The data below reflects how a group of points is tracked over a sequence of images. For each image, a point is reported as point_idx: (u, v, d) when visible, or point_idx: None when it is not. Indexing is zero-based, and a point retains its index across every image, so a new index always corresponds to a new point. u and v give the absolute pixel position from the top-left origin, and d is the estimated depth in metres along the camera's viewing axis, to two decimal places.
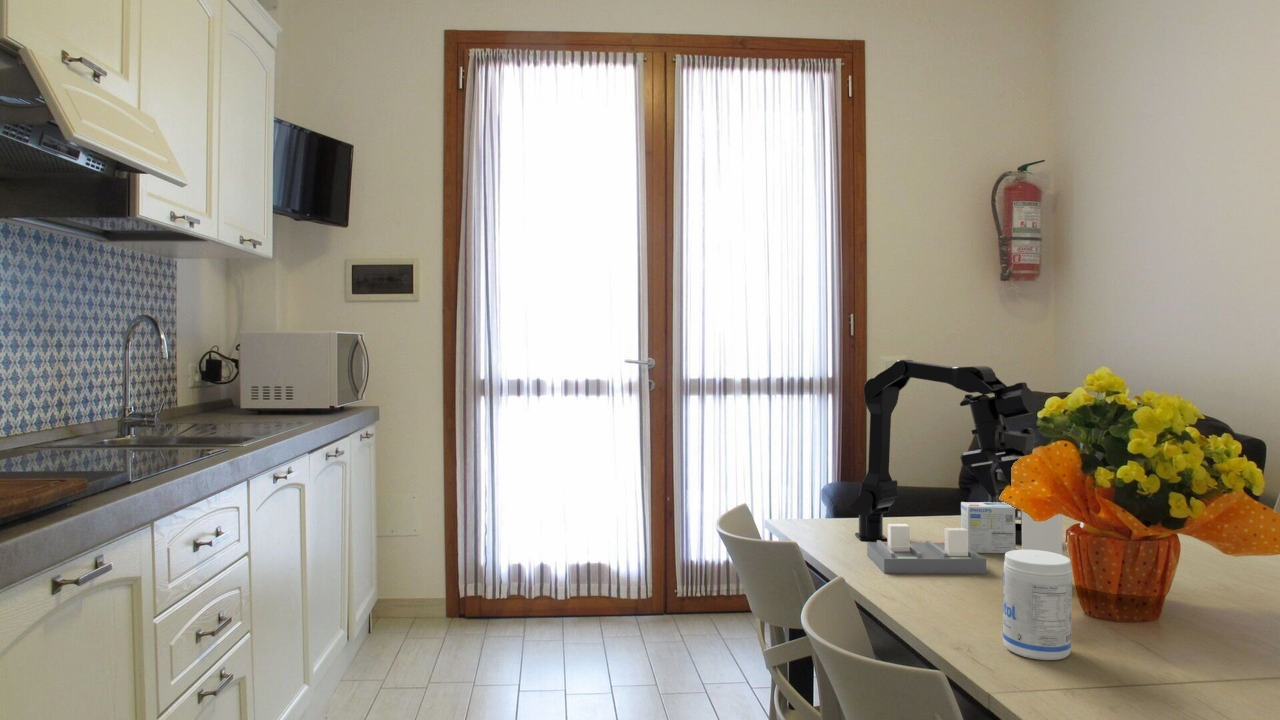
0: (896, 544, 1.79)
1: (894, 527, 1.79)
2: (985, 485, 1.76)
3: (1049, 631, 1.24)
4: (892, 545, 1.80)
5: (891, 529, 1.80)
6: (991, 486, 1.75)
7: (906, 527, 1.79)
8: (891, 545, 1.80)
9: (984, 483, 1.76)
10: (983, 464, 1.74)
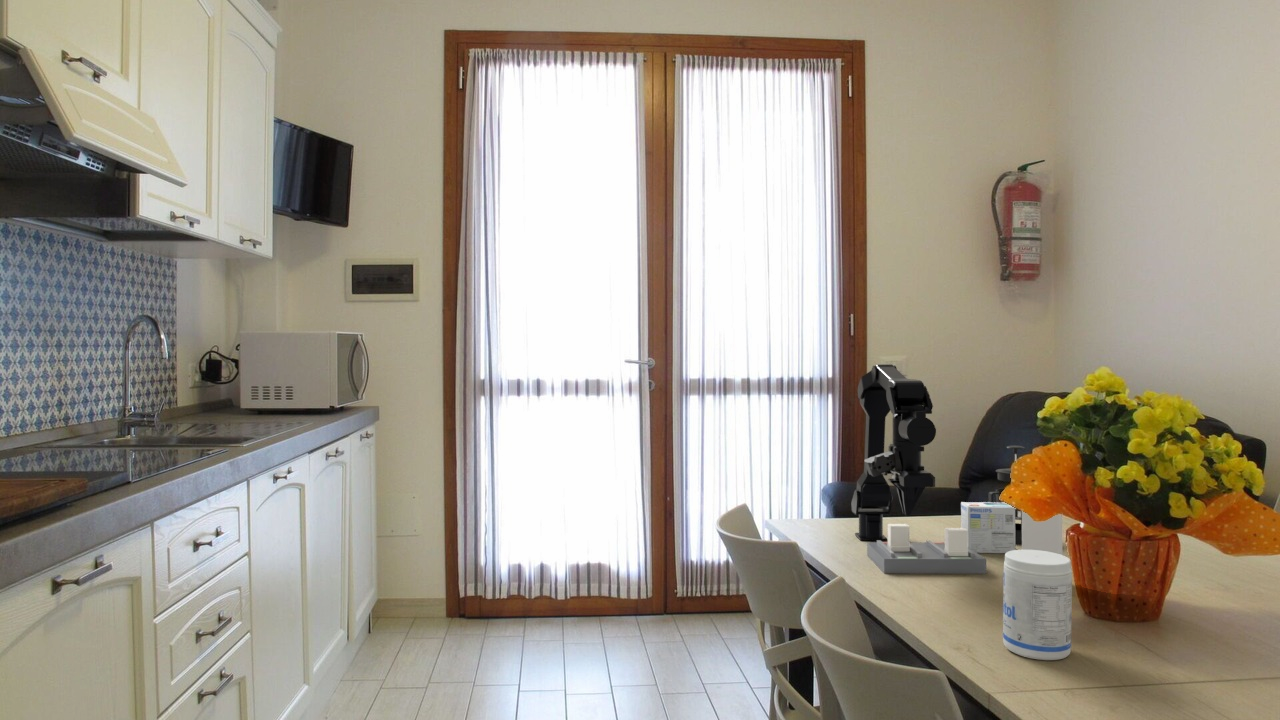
0: (896, 544, 1.79)
1: (894, 527, 1.79)
2: None
3: (1049, 631, 1.24)
4: (892, 545, 1.80)
5: (891, 529, 1.80)
6: None
7: (906, 527, 1.79)
8: (891, 545, 1.80)
9: None
10: None
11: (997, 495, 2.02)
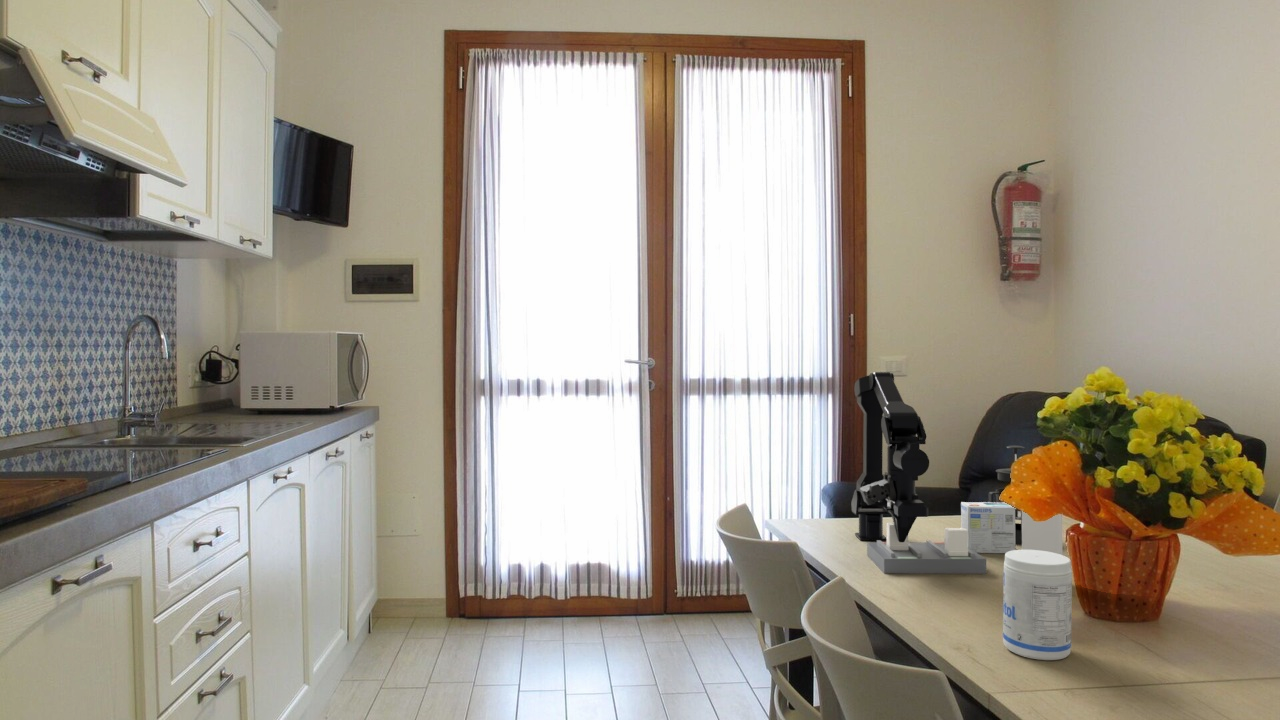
0: (895, 543, 1.81)
1: (893, 526, 1.81)
2: None
3: (1049, 631, 1.24)
4: (891, 544, 1.81)
5: (890, 528, 1.81)
6: None
7: None
8: (890, 544, 1.81)
9: None
10: None
11: (997, 495, 2.02)
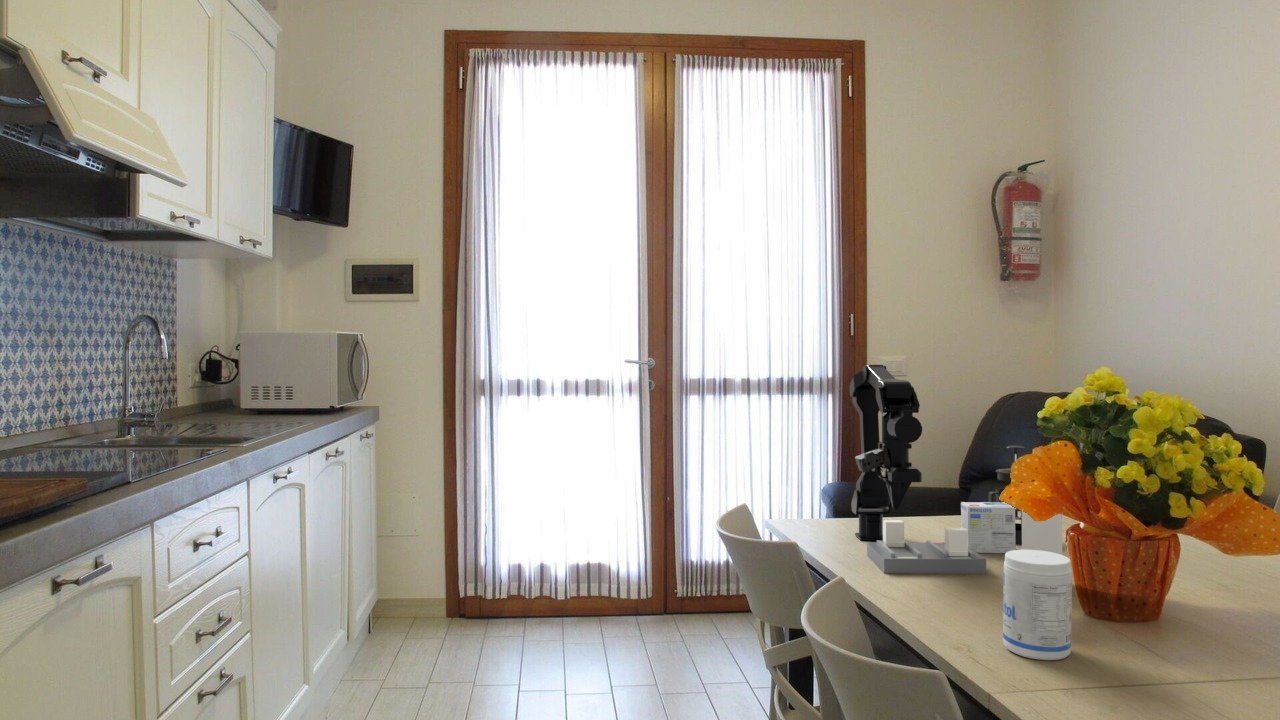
0: (891, 540, 1.84)
1: (889, 523, 1.84)
2: None
3: (1049, 631, 1.24)
4: (887, 541, 1.84)
5: (886, 525, 1.84)
6: None
7: (901, 523, 1.83)
8: (886, 541, 1.84)
9: None
10: None
11: (997, 495, 2.02)
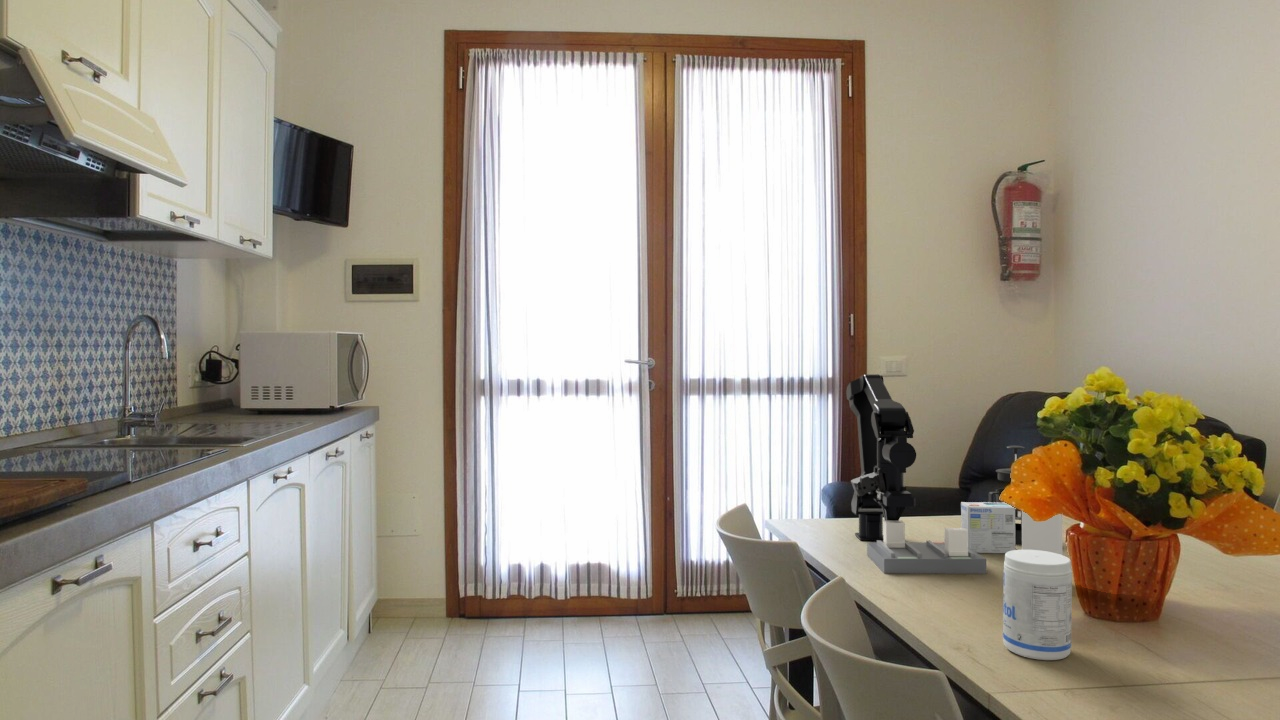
0: (892, 540, 1.83)
1: (890, 524, 1.83)
2: None
3: (1049, 631, 1.24)
4: (888, 541, 1.83)
5: (887, 525, 1.83)
6: None
7: (901, 524, 1.83)
8: (887, 541, 1.83)
9: None
10: None
11: (997, 495, 2.02)
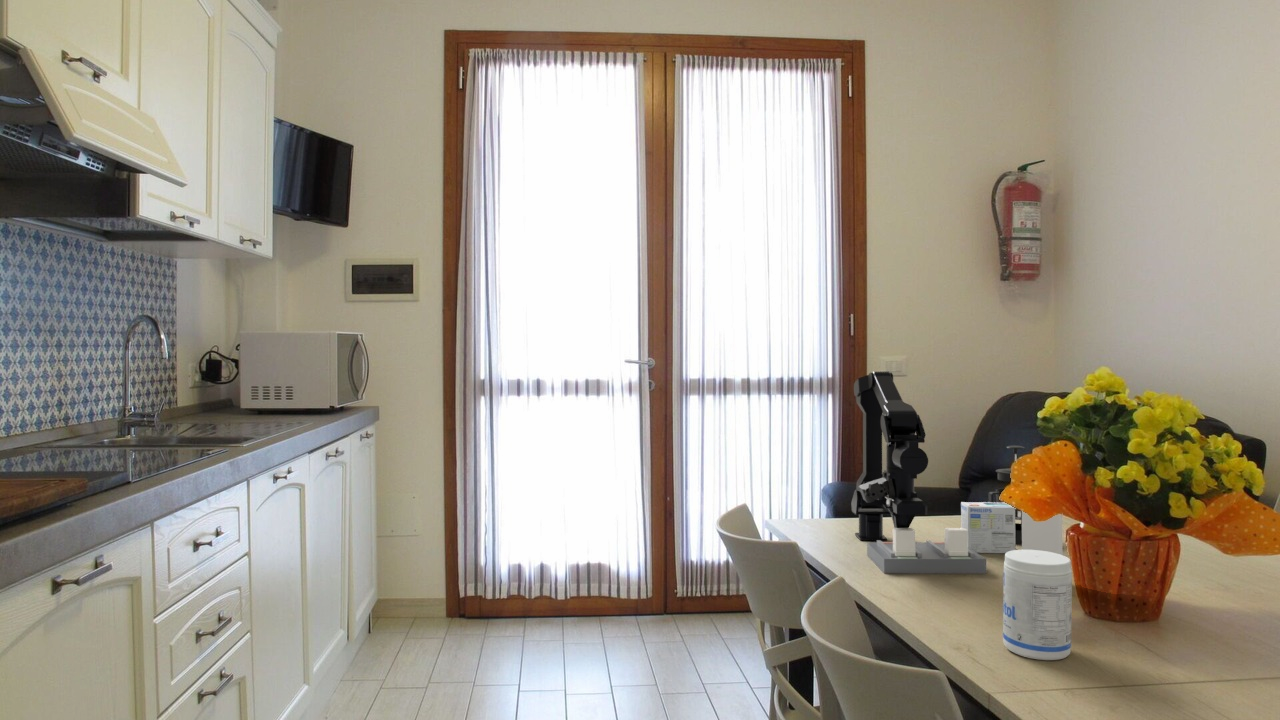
0: (901, 549, 1.75)
1: (899, 531, 1.75)
2: None
3: (1049, 631, 1.24)
4: (897, 550, 1.75)
5: (896, 533, 1.75)
6: None
7: (912, 531, 1.75)
8: (896, 550, 1.75)
9: None
10: None
11: (997, 495, 2.02)
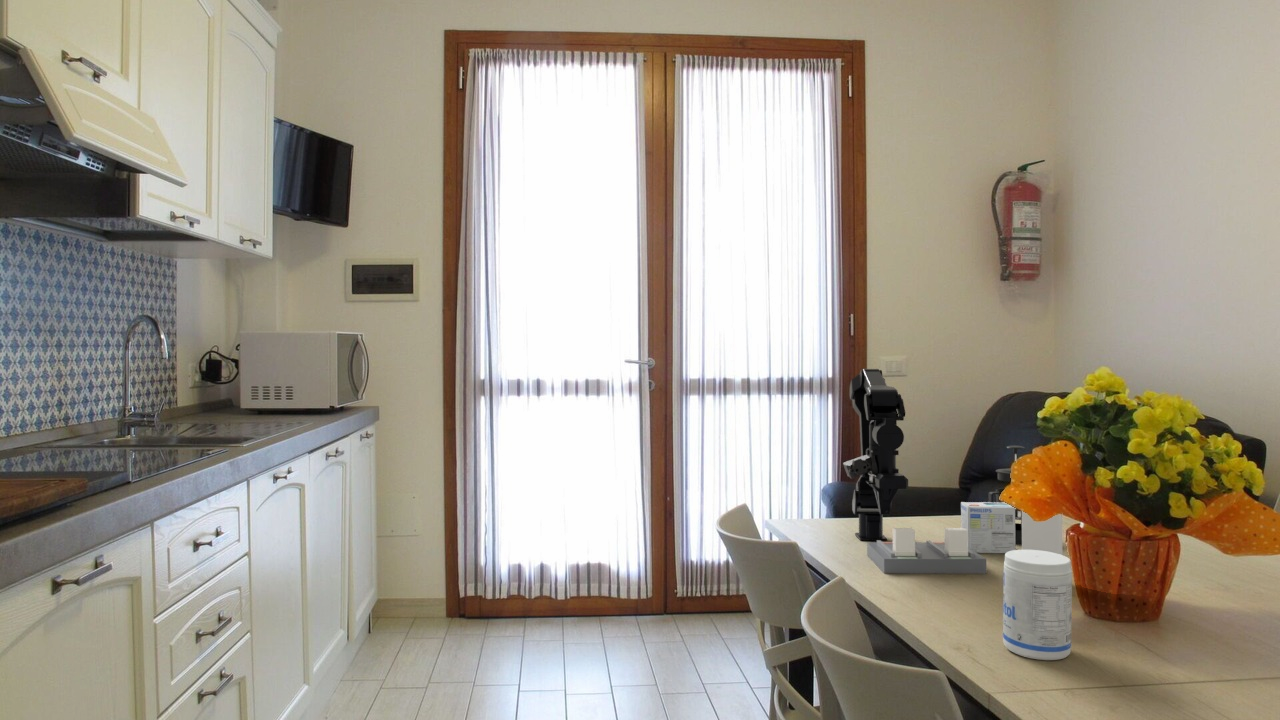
0: (901, 548, 1.75)
1: (899, 531, 1.75)
2: None
3: (1049, 631, 1.24)
4: (897, 550, 1.75)
5: (896, 533, 1.76)
6: None
7: (911, 531, 1.75)
8: (896, 550, 1.76)
9: None
10: None
11: (997, 495, 2.02)
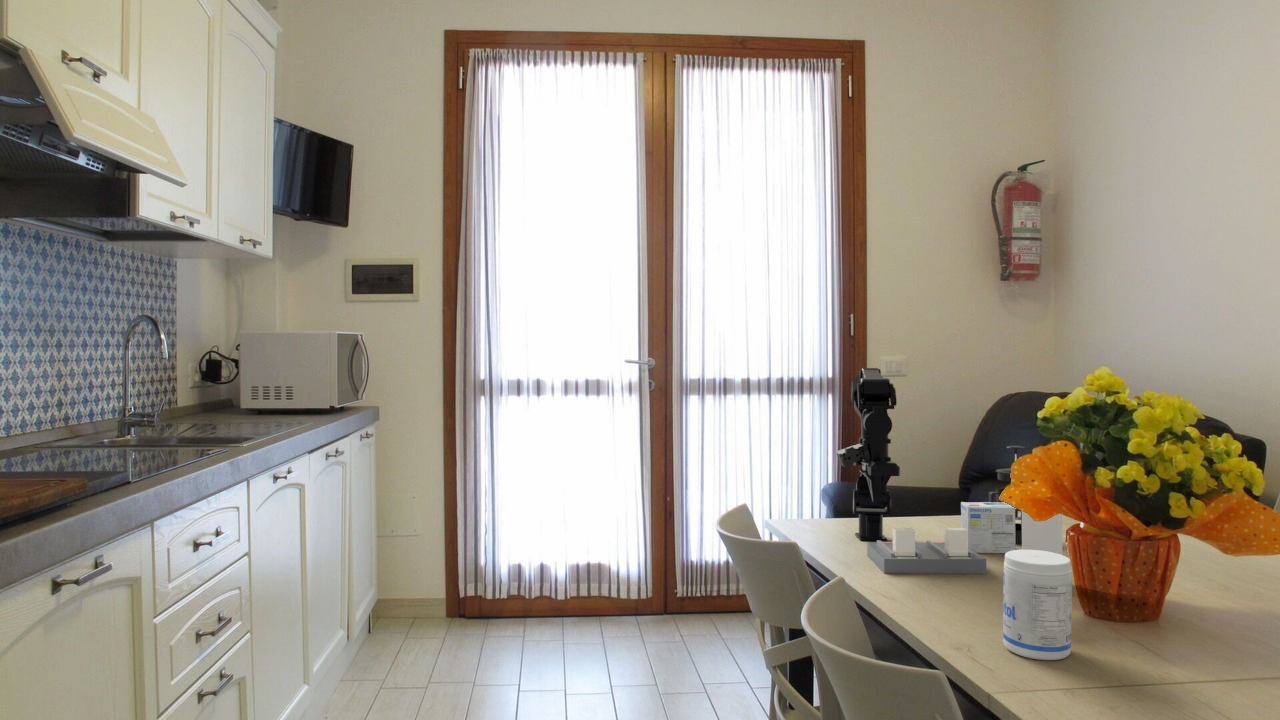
0: (901, 548, 1.75)
1: (899, 531, 1.75)
2: None
3: (1049, 631, 1.24)
4: (897, 550, 1.75)
5: (896, 533, 1.76)
6: None
7: (911, 531, 1.75)
8: (896, 550, 1.76)
9: None
10: None
11: (997, 495, 2.02)
